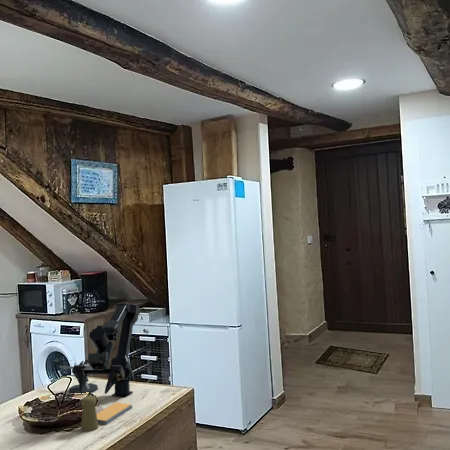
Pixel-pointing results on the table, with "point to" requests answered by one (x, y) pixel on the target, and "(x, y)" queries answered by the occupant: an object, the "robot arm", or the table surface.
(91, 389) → the gun turret
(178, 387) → the table surface
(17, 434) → the table surface
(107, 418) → the floor panel
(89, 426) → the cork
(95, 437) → the table surface
